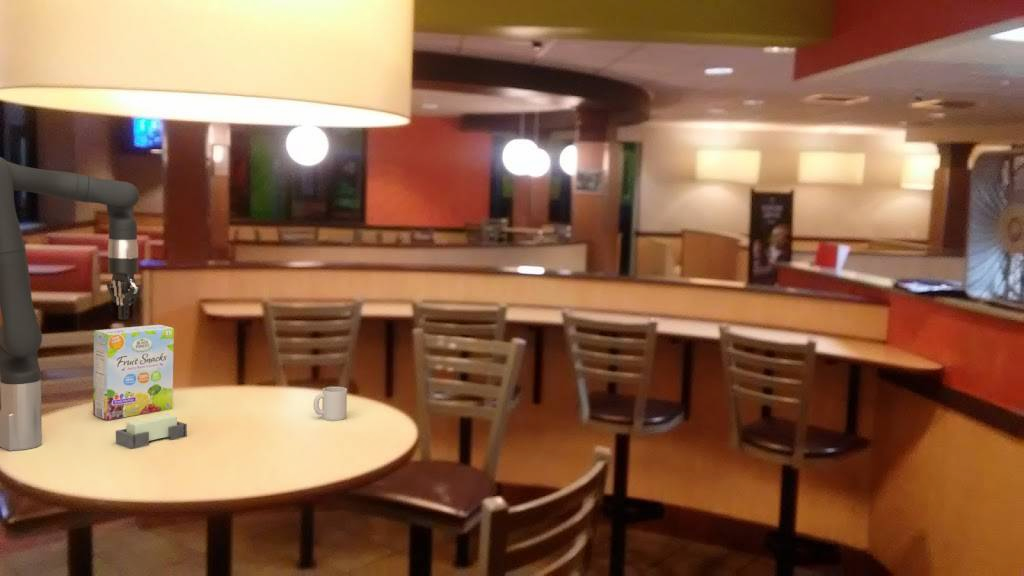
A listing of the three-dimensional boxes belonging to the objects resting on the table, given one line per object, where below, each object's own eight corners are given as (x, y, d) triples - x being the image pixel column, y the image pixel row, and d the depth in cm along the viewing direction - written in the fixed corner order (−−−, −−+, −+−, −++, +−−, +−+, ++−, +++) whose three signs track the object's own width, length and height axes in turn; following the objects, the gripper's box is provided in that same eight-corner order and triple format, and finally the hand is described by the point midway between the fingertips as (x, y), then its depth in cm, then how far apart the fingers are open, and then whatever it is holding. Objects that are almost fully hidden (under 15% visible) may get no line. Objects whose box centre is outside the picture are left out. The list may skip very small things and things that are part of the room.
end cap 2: (170, 431, 256) (170, 419, 256) (186, 436, 252) (186, 424, 251) (154, 434, 252) (154, 422, 252) (170, 440, 248) (170, 427, 247)
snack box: (107, 422, 263) (106, 334, 260) (91, 416, 268) (90, 330, 265) (175, 409, 280) (174, 326, 277) (159, 404, 286) (158, 323, 283)
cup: (348, 420, 275) (349, 391, 274) (315, 422, 271) (316, 393, 270) (343, 414, 282) (343, 386, 281) (310, 416, 278) (311, 387, 277)
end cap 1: (131, 449, 238) (131, 436, 238) (115, 443, 243) (115, 430, 242) (148, 445, 242) (148, 432, 242) (133, 439, 247) (133, 427, 246)
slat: (135, 443, 241) (134, 425, 240) (126, 440, 243) (126, 422, 243) (176, 434, 251) (176, 416, 251) (168, 431, 253) (168, 414, 253)
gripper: (96, 254, 248) (97, 317, 250) (123, 258, 240) (124, 323, 242) (122, 253, 254) (122, 315, 256) (149, 257, 246) (150, 320, 248)
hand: (123, 318), depth 249 cm, fingers closed
